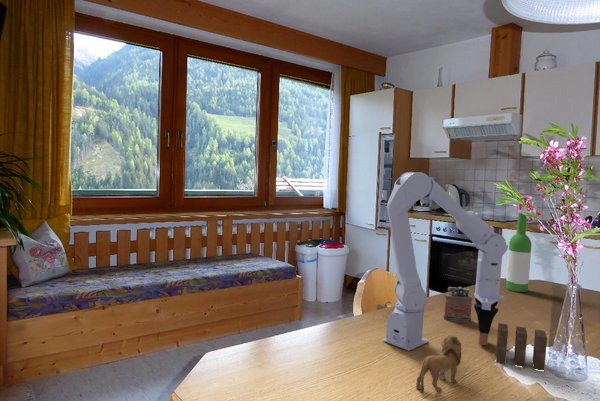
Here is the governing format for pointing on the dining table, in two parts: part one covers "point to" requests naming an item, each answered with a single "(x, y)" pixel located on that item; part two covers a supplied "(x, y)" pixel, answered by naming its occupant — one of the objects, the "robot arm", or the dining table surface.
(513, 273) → the wine bottle
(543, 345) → the walnut domino
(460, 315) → the lighter
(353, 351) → the dining table surface
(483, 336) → the brick red domino
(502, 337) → the walnut domino
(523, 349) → the walnut domino
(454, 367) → the lion figurine
